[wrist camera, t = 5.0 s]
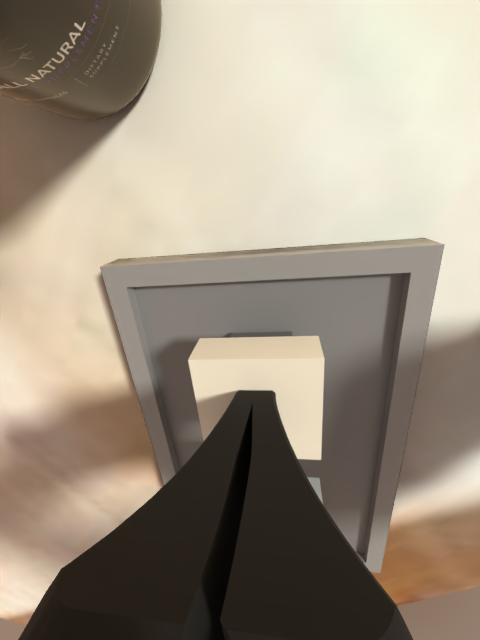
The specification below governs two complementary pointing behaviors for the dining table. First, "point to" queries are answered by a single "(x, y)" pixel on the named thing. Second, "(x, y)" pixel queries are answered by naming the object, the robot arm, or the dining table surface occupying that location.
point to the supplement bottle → (77, 53)
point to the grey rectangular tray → (302, 320)
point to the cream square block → (263, 381)
